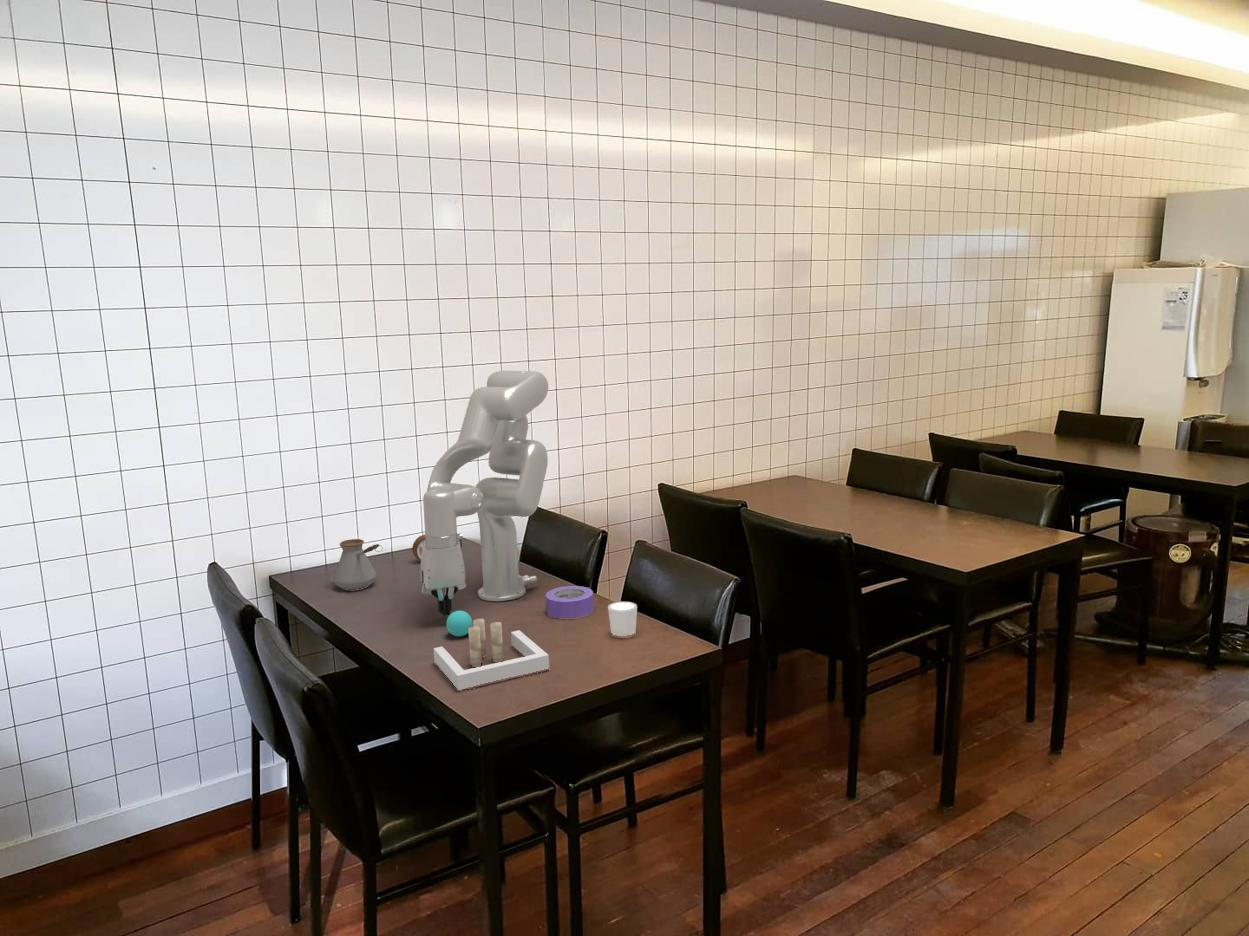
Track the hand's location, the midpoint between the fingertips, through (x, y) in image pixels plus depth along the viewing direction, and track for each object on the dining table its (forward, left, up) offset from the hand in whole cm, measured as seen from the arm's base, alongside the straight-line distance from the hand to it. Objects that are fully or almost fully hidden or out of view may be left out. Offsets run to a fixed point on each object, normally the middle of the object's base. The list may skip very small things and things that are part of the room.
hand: (445, 614), depth 226 cm
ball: (-1, +9, 0) cm, 9 cm away
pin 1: (+2, +28, -3) cm, 28 cm away
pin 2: (-3, +28, -3) cm, 28 cm away
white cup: (-34, +29, -3) cm, 45 cm away
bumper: (-1, +30, -3) cm, 30 cm away
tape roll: (-30, +8, -3) cm, 31 cm away
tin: (-15, -55, -3) cm, 57 cm away
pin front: (-1, +24, -3) cm, 24 cm away
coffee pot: (+11, -38, -3) cm, 40 cm away
